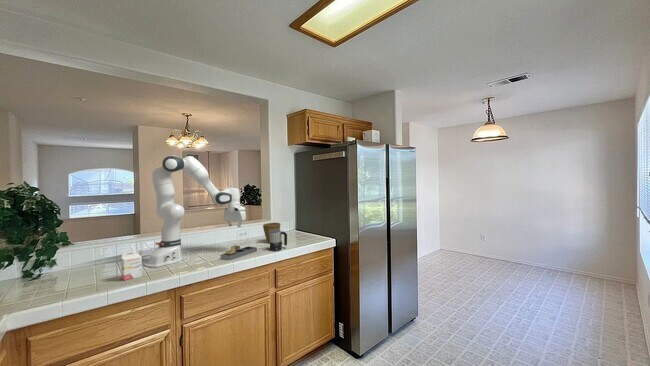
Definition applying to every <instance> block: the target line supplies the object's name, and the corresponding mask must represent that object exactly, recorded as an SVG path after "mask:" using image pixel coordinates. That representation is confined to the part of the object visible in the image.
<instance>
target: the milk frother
mask: <svg viewBox="0 0 650 366" xmlns="http://www.w3.org/2000/svg"><path fill="white" fill-rule="evenodd" d="M282 235H283V239H284V241H283V242H282ZM269 237H270V243H269V252H270V251H271V252H279V251H281V250H283V249H282V245H284V246H287V245H288V233H287V232H286V231H282V230H281V229H280V230H270V231H269Z"/></svg>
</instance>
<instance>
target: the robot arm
mask: <svg viewBox="0 0 650 366" xmlns="http://www.w3.org/2000/svg"><path fill="white" fill-rule="evenodd" d="M161 163H162V165H161V166H160V167H156V168H154V169H153V170H152V171H151V178H152V184H153V189H154V192H155V197H156V209H155V213H156V215H157V216H158V217H159V218H160V219H163V224H162V227H161V228H160V233H161V235H160V236H161V237H160V239H161V240H160V242H158V241H157V242H155V246H158V247H157V248H156V249H155V250H154V251H153V252H151V253H150V254H149V256H148V261H147V262H145V263H144V267H146V268H159V267H164V266H169V265H173V264H177V263H181V262H182V261H183V260H184V257H183V253H182V247H181V246H182V239H181V224H182V219H183V217H184V216H185V211H186V210H185V208H184V206H182V205H180V204H178V203H175V195H176V191H175V187H174V183H173V180H172V174H173V173H174V172H178V171H181V170H183V171H185V173H187V175H188V176H189V177H190V178H192V179H193V180H194V181H195V182H196V183H197V184H199V185H201V186H202V188H204V190H205V191H207V193H208V194H209V196H210V198H211V201H212V202H213V204H215V205H218V206H221V205H222V206H223V205H227V207H226V208H225V209H224V211H223V220H224V221H227V225H228V227H232V226H233V224H232V223H231V222H233V221H234V222H237V225H236V226H237V228H241V225H242V224H243V223H242V222H245V221H246V219H247V218H246V217H247V215H246V208H245V207H244V206H242V205H241V201H240V200H241V196H240V195H241V194H240V192H241V191H240V189H239V187H236V186H228V187H227V188H226V189H223V190H221V191H220V190H219V189H217V187H216V186H215V185H214V184H213V183H212V181H211V180H210V174H209V172H208V170H207V168H205V166H204V164H202V163H201V162H200V161H199V160H198V159H197V158H196V157H194V156H192V155H188V156H185V157H183V158H181V157H179V156H178V155H173V154H172V155H171V154H170V155H167V156H166V157H164V158H163V160H162V162H161Z"/></svg>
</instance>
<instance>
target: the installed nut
mask: <svg viewBox="0 0 650 366" xmlns="http://www.w3.org/2000/svg"><path fill="white" fill-rule="evenodd" d="M224 253H226V255H233V254H236V251H234V250H231V249H230V250H227V251H225V252H224Z"/></svg>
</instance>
